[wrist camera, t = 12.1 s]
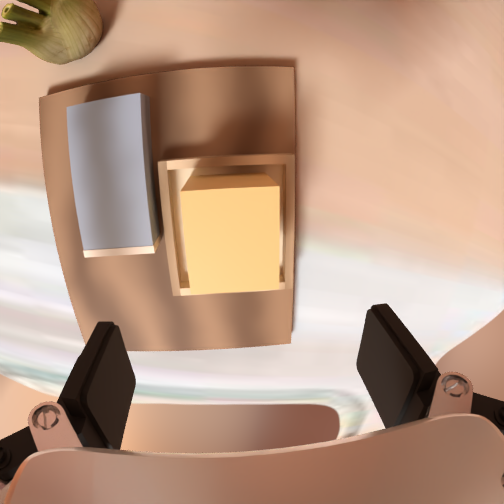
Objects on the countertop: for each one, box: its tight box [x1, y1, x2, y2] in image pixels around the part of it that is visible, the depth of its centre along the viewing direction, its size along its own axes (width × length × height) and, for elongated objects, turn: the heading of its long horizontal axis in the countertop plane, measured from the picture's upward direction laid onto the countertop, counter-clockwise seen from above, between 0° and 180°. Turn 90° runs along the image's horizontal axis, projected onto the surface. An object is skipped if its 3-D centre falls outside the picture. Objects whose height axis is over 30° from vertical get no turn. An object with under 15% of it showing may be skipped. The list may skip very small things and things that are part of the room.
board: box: [39, 66, 296, 351], centre depth 25 cm, size 22×26×4 cm
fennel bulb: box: [0, 0, 103, 65], centre depth 14 cm, size 6×5×12 cm
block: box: [180, 172, 280, 295], centre depth 23 cm, size 6×7×6 cm
